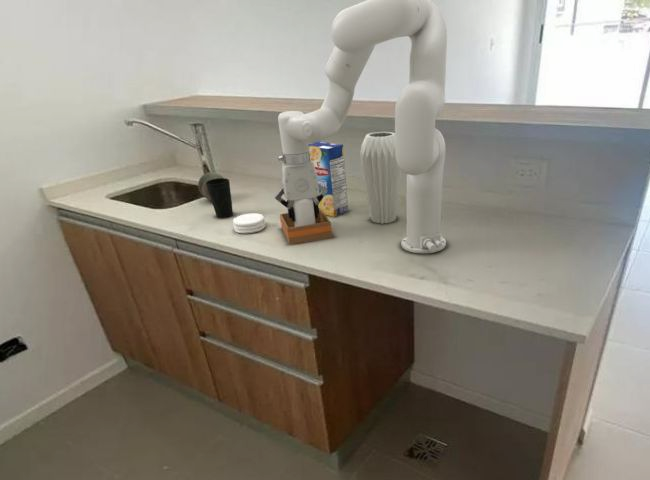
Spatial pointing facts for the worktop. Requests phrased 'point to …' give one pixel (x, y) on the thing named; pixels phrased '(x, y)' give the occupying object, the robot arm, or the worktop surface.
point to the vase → (381, 175)
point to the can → (303, 212)
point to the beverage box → (330, 176)
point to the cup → (220, 197)
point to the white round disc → (249, 223)
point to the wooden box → (306, 229)
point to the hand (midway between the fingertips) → (304, 218)
